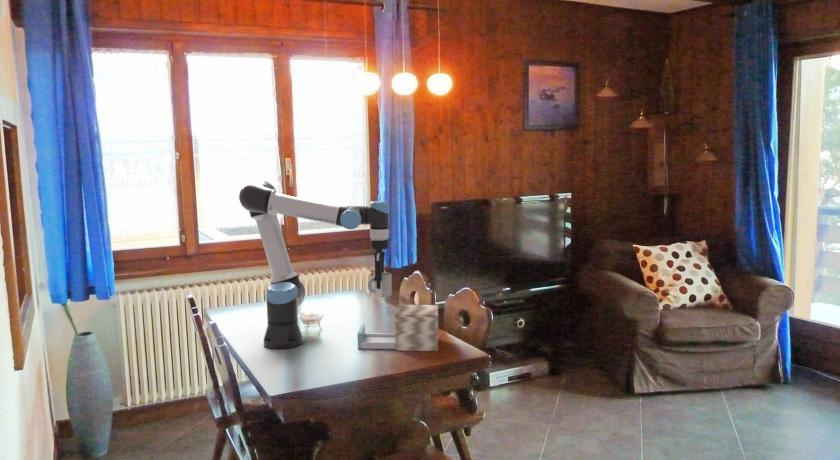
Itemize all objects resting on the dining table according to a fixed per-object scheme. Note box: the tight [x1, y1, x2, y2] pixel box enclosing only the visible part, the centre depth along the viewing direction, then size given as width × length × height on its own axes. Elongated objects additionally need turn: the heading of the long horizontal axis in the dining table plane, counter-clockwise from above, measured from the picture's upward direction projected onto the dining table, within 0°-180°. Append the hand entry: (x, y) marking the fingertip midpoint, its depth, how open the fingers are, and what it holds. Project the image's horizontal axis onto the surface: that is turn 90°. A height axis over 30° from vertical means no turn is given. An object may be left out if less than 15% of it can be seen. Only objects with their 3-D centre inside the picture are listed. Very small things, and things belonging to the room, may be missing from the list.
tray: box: [357, 323, 396, 350], centre depth 254 cm, size 19×13×6 cm
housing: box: [394, 304, 439, 352], centre depth 253 cm, size 16×15×14 cm
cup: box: [367, 271, 393, 298], centre depth 266 cm, size 7×10×9 cm
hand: (379, 294), depth 267 cm, fingers closed on cup, 7 cm apart
